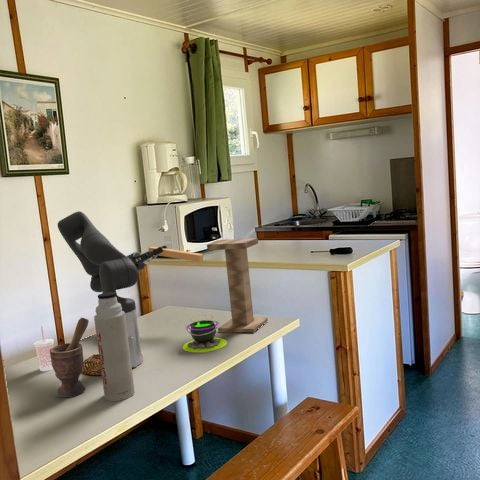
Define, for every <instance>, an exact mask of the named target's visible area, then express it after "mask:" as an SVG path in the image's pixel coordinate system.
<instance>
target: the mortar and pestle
mask: <svg viewBox="0 0 480 480" xmlns="http://www.w3.org/2000/svg"><path fill="white" fill-rule="evenodd" d="M88 326H89V319H88V318H85V317H80V318H79V319H78V321H77V324H76V327H75V330H74V333H73V337H72V339H71V341H70V342H69V343H67V342H65V343H63V344H62V343H61V344H58V345H55V346H53V348H51V349H50V356H51V363H52V367H53V369H52V370H53V371H54V373H55V374H54V375H55V377H56V379H58V380H59V381H60V382H61V385H60V386H58V388H57V397H58V398H73V397H75V396H79V395H81V394H82V393H84V392H85V391H86V387H85V385H84V384H83V383H82V382H81V381H79V378H80V376H81V374H82V373H83V367H84V362H85V361H84V351H83V344H82V343H80V341H81V339H82V337H83V335H84V333H85V331H87V328H88Z"/></svg>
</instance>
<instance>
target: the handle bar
mask: <svg viewBox="0 0 480 480" xmlns="http://www.w3.org/2000/svg"><path fill="white" fill-rule="evenodd" d="M159 247H160V246H150V247H148V251H149V252H150V251H151V250H155V249H157V248H159ZM162 249H163V252H162V253H160V254H157V255H159V257H166V258H172V259H177V260H185V261H192V262H198V263H201V262H203V261H204V253H198V252H190V251H187V250H180V249H179V250H178V249H172V248H171V249H170V248H167V249H166V248H162Z"/></svg>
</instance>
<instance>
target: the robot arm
mask: <svg viewBox="0 0 480 480" xmlns="http://www.w3.org/2000/svg"><path fill="white" fill-rule="evenodd" d="M57 229H58V230H59V233H60V235H61V237H62V238H63V240H64V241H65V242H66V243H67V245H68V247H69V248H70V249H71V251H72V252H73V254H74V255H75V256H76V257H77V259H78V260H79V262H80V263H81V265H82V267H83V269H84V271H85V272H86V274H87V275H89V276H91V279H90V283H89V287H90V289H91V291H93V292H95V293H101V294H102V293H107V292H116V293H117V291H118V290H123V289H128V288H131V287H134V286H135V285H136V284H137V282H138V281H139V272H140V271H142V270H144V269H145V268H146V267H145V266H146V263H150V262H151V261H152V260H154V259H156V258H157V257H158V256H159V255H157V254H160V253H162V252H163V249H162V248H166V249H168V247H167V245H165V244H164V245H162V246H158V247H159V248H157V249H155V250H151V251H150V252H149V250H147V251H145V252H141V253H140V252H138V251H134V252H132V253H130V254H129V255H125V254H124V253H123V252H121V251H120V250H119V249H118V248H116V246H114V245H113V244H112V243H111V242H110V241H109V239H108V238H107V237H106V236H105V235H104V234H103V233H101V232H100V231H99V230H98V229H97V228H96V226H95V225H94V224H93V223H92V221H91V220H90V218H88V216H87V215H86V214H85V213H84V212H82V211H79V210H78V211H76V212H75V211H74V212H73V213H71V214H70V215H67V216H66V217H64V218H62V219H61V220H59V221H58V222H57ZM78 240H80V243H78V242H77V241H78ZM159 257H160V256H159ZM116 298H117V302H118V303H120V304H121V307H122V311H124V312H125V318H126V326H127V334H128V342H129V350H130V360H131V367H132V368H137V367H138V366H139V365H141V364H142V363H143V356H142V355H143V353H142V348H141V341H140V332H139V323H138V322H139V321H138V315H137V304H136V302H135V299H132V298H129V297H122V296H120V295H117V296H116Z"/></svg>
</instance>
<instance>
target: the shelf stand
mask: <svg viewBox="0 0 480 480" xmlns="http://www.w3.org/2000/svg"><path fill="white" fill-rule="evenodd" d="M257 244H259V238H258V237H251V238H249V237H248V238H230V239H229V238H228V239H227V238H226V239H219V240H216V241H213V242H210V243H208V244H206V249H207V251H221V250H223V251H224V253H225V264H226V265H225V266H226V274H227V275H226V276H227V282H228V293H229V301H230V302H229V304H230V312H231V315H230V316H231V318H230V319H229V320H228V321H226V322H225V323H223V324H222V325H221V326H219V327H217V331H218V333H232V332H255V331H256V330H257V329H258V328H260V327H261V326H262V325H263V324H264V323H266V322H267V321H268V317H254V309H253V302H252V301H253V297H252V288H251V280H250V279H251V278H250V270H249V259H248V248H250V247H253V246H256V245H257ZM268 322H269V321H268ZM268 322H267V323H268ZM267 323H266V324H267ZM263 326H264V325H263ZM263 326H262V327H263ZM262 327H261V328H262ZM261 328H260V329H261ZM257 331H258V330H257ZM257 331H256V332H257ZM256 332H255V333H256Z"/></svg>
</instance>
